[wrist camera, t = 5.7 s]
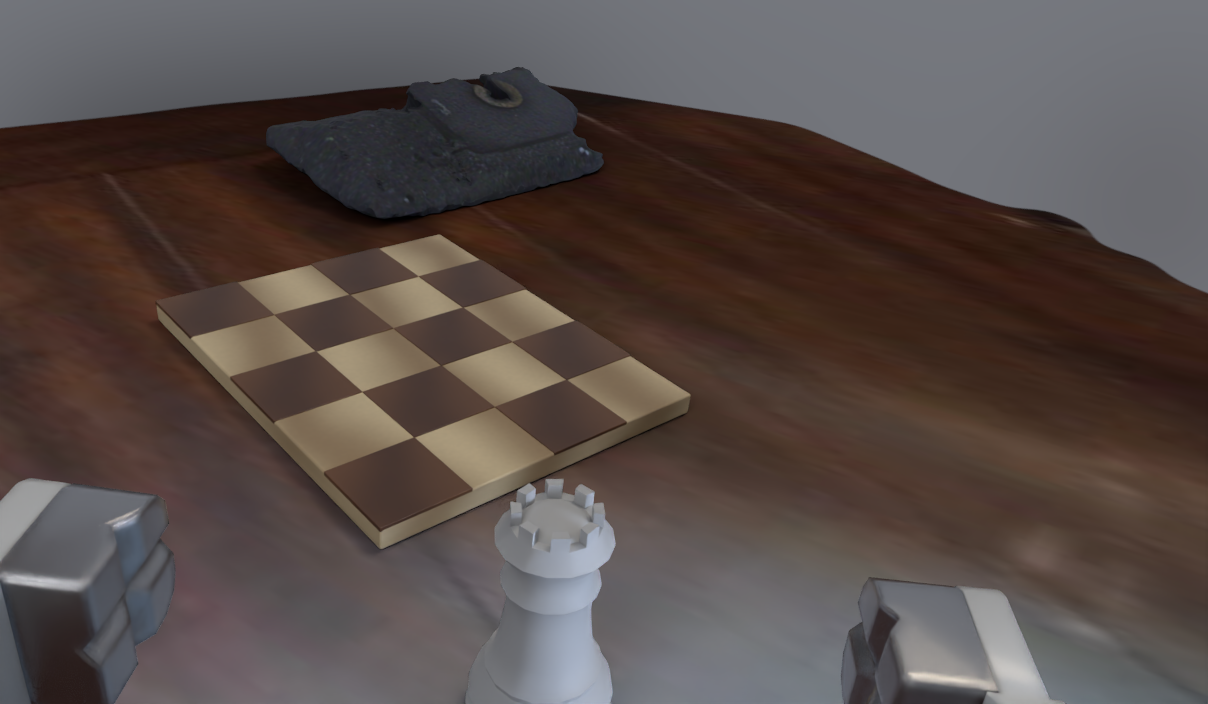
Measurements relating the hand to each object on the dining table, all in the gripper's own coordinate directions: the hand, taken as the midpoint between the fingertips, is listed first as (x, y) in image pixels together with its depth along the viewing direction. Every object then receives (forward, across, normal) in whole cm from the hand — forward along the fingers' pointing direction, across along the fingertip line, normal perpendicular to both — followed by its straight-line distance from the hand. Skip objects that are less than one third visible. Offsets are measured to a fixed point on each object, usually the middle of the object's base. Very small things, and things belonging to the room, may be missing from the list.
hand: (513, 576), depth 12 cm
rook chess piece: (+12, 0, +17) cm, 21 cm away
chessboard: (+31, +8, +17) cm, 36 cm away
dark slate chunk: (+58, +12, +17) cm, 62 cm away
